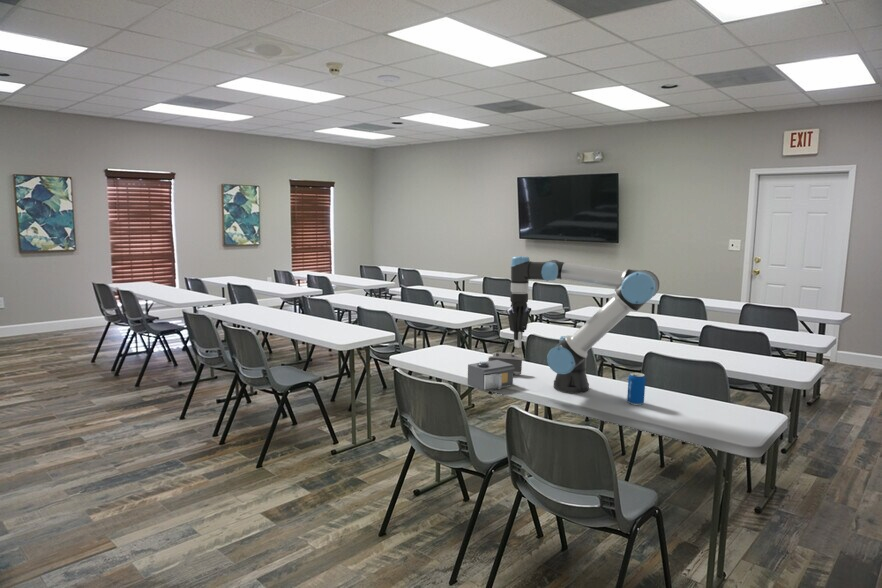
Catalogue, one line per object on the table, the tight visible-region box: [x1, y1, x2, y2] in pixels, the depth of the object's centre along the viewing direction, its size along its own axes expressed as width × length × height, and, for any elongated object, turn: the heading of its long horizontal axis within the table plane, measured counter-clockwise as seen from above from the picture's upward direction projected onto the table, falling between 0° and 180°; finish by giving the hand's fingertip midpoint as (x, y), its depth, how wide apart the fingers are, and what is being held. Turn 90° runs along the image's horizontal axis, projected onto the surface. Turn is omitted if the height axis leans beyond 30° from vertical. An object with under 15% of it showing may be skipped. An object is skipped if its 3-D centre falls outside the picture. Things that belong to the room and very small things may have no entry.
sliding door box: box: [467, 360, 515, 392], centre depth 250 cm, size 12×17×11 cm
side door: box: [484, 373, 502, 390], centre depth 242 cm, size 3×7×6 cm, turn 125°
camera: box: [487, 352, 523, 376], centre depth 271 cm, size 9×16×10 cm, turn 86°
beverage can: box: [626, 372, 647, 406], centre depth 228 cm, size 6×6×12 cm
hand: (517, 346), depth 243 cm, fingers closed
